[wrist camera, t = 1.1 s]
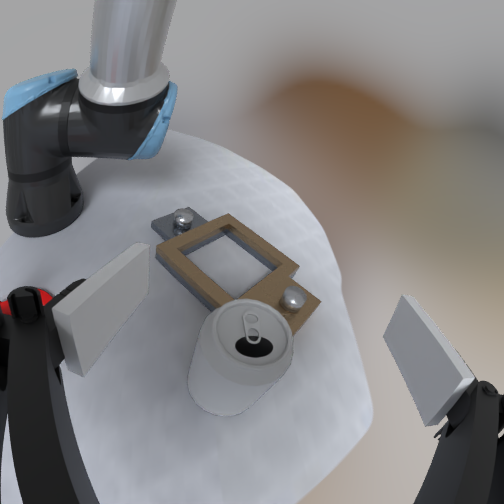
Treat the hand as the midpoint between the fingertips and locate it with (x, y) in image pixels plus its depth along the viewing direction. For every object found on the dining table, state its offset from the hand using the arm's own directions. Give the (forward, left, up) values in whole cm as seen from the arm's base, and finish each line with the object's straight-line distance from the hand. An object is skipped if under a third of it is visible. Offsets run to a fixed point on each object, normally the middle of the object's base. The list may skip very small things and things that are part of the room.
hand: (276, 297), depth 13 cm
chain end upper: (-9, +17, -19) cm, 27 cm away
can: (-1, +3, -19) cm, 19 cm away
